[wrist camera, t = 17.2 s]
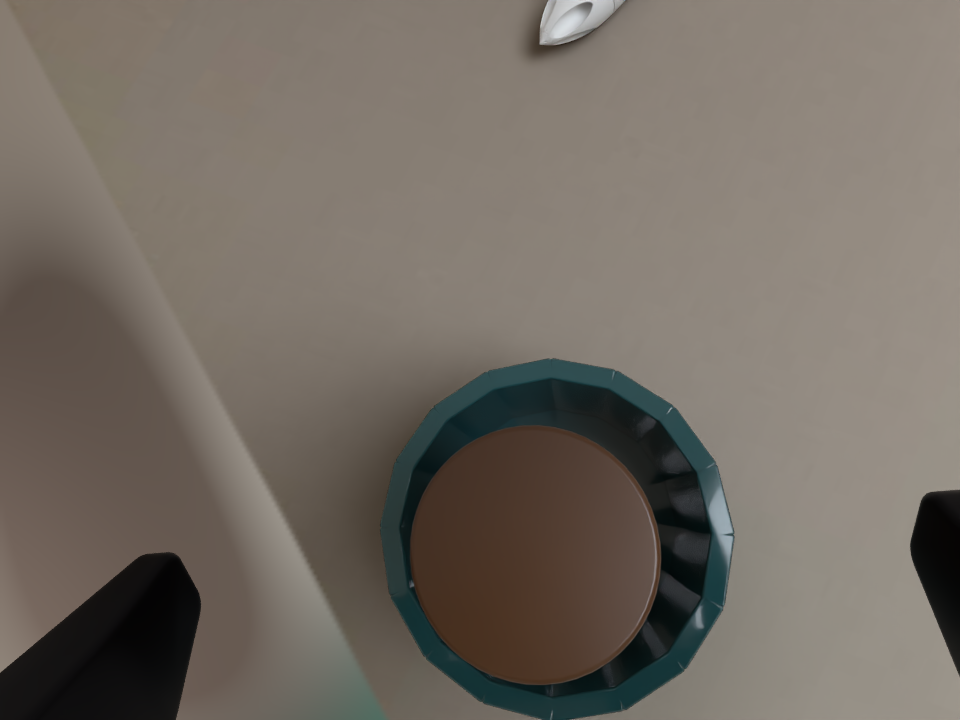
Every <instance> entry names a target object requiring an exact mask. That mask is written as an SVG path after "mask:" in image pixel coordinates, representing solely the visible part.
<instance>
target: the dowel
mask: <svg viewBox="0 0 960 720" xmlns="http://www.w3.org/2000/svg"><path fill="white" fill-rule="evenodd" d="M410 564H411V574H412V578H413V583H414V587H415V591H416V594H417V597H418V599H419V602H420V605H421V607H422V609H423V611H424V613H425V615H426V617H427V619H428V621H429V622H430V624H431V625H432V627H433V628H434V630H435V631H436V633H437V634H438V635H439V637H440V638H441V639H442V640H443V641H444V642H445V643H446V644H447V646H448V647H449V648H450V649H451V650H452V651H454V652H455V653H456V654H457V655H458V656H459V657H461V658H462V659H463V660H464V661H466V662H467V663H469V664H471V665H472V666H474V667H475V668H477V669H478V670H481V671H483V672H485V673H487V674H489V675H491V676H493V677H496V678H500V679H503V680H506V681H509V682H515V683H520V684H526V685H548V684H557V683H563V682H567V681H570V680H574V679H578V678H580V677H582V676H585V675H587V674H590V673H592V672H594V671H596V670H597V669H599V668H601V667H602V666H604V665H606V664H607V663H609V662H610V661H611V660H612V659H614V658H615V657H616V656H617V655H618V654H620V653H621V652H622V651H623V650H624V649H625V648H626V647H627V645H628V644H629V643H630V642H631V641H632V640H633V639H634V637H635V636H636V634H637V633H638V632H639V630H640V629H641V627H642V626H643V624H644V622H645V620H646V618H647V616H648V614H649V612H650V610H651V608H652V605H653V602H654V599H655V596H656V593H657V588H658V583H659V579H660V569H661V547H660V538H659V533H658V527H657V523H656V520H655V517H654V514H653V511H652V508H651V506H650V504H649V502H648V499H647V497H646V495H645V493H644V491H643V490H642V488H641V487H640V485H639V484H638V482H637V480H636V479H635V478H634V476H633V475H632V474H631V473H630V472H629V470H628V469H627V468H626V467H625V466H624V465H623V464H622V463H621V462H620V461H619V460H618V459H617V458H616V457H615V456H614V455H613V454H611V453H610V452H609V451H607V450H606V449H605V448H603V447H602V446H600V445H599V444H597V443H595V442H594V441H592V440H590V439H588V438H586V437H584V436H582V435H579V434H577V433H574V432H571V431H568V430H564V429H560V428H556V427H550V426H541V425H522V426H515V427H509V428H504V429H501V430H497V431H494V432H491V433H488V434H486V435H484V436H482V437H479V438H477V439H475V440H474V441H472V442H470V443H469V444H467V445H465V446H464V447H462V448H461V449H460V450H459V451H457V452H456V453H455V454H454V455H452V456H451V457H450V458H449V459H448V460H447V461H446V462H445V463H444V464H443V465H442V466H441V467H440V469H439V470H438V471H437V473H436V474H435V475H434V477H433V478H432V479H431V481H430V483H429V484H428V486H427V488H426V490H425V491H424V493H423V495H422V498H421V500H420V503H419V505H418V507H417V510H416V514H415V517H414V521H413V525H412V531H411V539H410Z"/></svg>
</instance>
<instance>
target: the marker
mask: <svg viewBox="0 0 960 720" xmlns="http://www.w3.org/2000/svg"><path fill="white" fill-rule="evenodd" d="M624 2H625V0H548V2H547V5H546V7H545V10H544V13H543V16H542V20H541V26H540V45H558V44H563V43H566V42H570V41H573V40H575V39H578V38H580V37H582V36H584V35H586V34H588V33H590V32H591V31H593V30H594V29H596V28H597V27H598V26H600V25H601V24H602V23H603V22H604V21H606V20H607V19H608V18H609V17H610V16H611V15H612V14H613V13H614V12H615V11H616V10H617V9H618V8H619V7H620V5H622V4H623V3H624Z"/></svg>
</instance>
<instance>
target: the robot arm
mask: <svg viewBox="0 0 960 720" xmlns="http://www.w3.org/2000/svg"><path fill="white" fill-rule="evenodd" d="M910 550H911V556H912V560H913V563H914V566H915V569H916V571H917V573H918V576H919V578H920V581H921V583H922V586H923V588H924V591H925V593H926V596H927V598H928V600H929V603H930V605H931V608H932V610H933V613H934V615H935V618H936V620H937V622H938V625H939V627H940V630H941V632H942V635H943V637H944V640H945V642H946V644H947V647H948V649H949V652H950V654H951V657H952V659H953V662H954V664H955V667H956V669H957V671H958V674H959V676H960V490H950V491H937V492H930V493H927V494H926V495H925V496H924V497H923V498H922V500H921V503H920V507H919V511H918V514H917V518H916V522H915V526H914V530H913V534H912V538H911V543H910ZM200 610H201V600H200V596H199V593H198V590H197V588H196V587H195V585H194V583H193V581H192V579H191V577H190V576H189V574H188V572H187V570H186V568H185V566H184V565H183V563H182V561H181V559H180V558H179V557H178V556H177V555H175V554H174V553H170V552H166V553H154V554H145V555H142V556H140V557H138V558H137V559H136V560H134V561H133V562H132V563H131V564H130V565H129V566H127V567H126V568H125V569H124V570H123V571H121V572H120V573H119V574H118V575H117V576H115V577H114V578H113V579H112V580H111V581H109V582H108V583H107V584H106V585H105V586H103V587H102V588H101V589H100V590H99V591H97V592H96V593H95V594H94V595H93V596H91V597H90V598H89V599H88V600H87V601H85V602H84V603H83V604H82V605H81V606H79V607H78V608H77V609H76V610H75V611H74V612H72V613H71V614H70V615H69V616H68V617H66V618H65V619H64V620H63V621H62V622H60V623H59V624H58V625H57V626H56V627H54V629H52V630H51V631H50V632H48V633H47V634H46V635H45V636H44V637H42V638H41V639H40V640H39V641H38V642H36V643H35V644H34V645H33V646H32V647H31V648H29V649H28V650H27V651H26V652H25V653H23V654H22V655H21V656H20V657H19V658H17V659H16V660H15V661H14V662H13V663H12V664H10V665H9V666H8V667H7V668H6V669H4V670H3V671H2V672H1V673H0V720H176V717H177V713H178V709H179V704H180V700H181V695H182V691H183V687H184V682H185V677H186V673H187V669H188V665H189V660H190V656H191V651H192V647H193V643H194V638H195V633H196V629H197V625H198V621H199V616H200Z"/></svg>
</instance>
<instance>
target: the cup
mask: <svg viewBox="0 0 960 720" xmlns="http://www.w3.org/2000/svg"><path fill="white" fill-rule="evenodd" d="M522 425H541V426H550V427H556V428H560V429H564V430H568V431H571V432H574V433H577V434H579V435H582V436H584V437H586V438H588V439H590V440H592V441H594V442H595V443H597V444H599V445H600V446H602V447H603V448H605V449H606V450H607V451H609V452H610V453H611V454H613V455H614V456H615V457H616V458H617V459H618V460H619V461H620V462H621V463H622V464H623V465H624V466H625V467H626V468H627V469H628V470H629V472H630V473H631V474H632V475H633V476H634V478H635V479H636V480H637V482H638V484H639V485H640V487H641V488H642V490H643V491H644V493H645V495H646V497H647V499H648V502H649V504H650V506H651V508H652V511H653V514H654V517H655V520H656V523H657V527H658V533H659V538H660V547H661V569H660V579H659V583H658V588H657V593H656V596H655V599H654V602H653V605H652V608H651V610H650V612H649V614H648V616H647V618H646V620H645V622H644V624H643V626H642V627H641V629H640V630H639V632H638V633H637V634H636V636H635V637H634V639H633V640H632V641H631V642H630V643H629V644H628V645H627V647H626V648H625V649H624V650H623V651H622V652H621V653H620V654H618V655H617V656H616V657H615V658H614V659H612V660H611V661H610V662H609V663H607V664H606V665H604V666H602V667H601V668H599V669H597V670H596V671H594V672H592V673H590V674H587V675H585V676H582V677H580V678H578V679H574V680H570V681H567V682H563V683H557V684H548V685H526V684H520V683H515V682H509V681H506V680H503V679H500V678H496V677H493V676H491V675H489V674H487V673H485V672H483V671H481V670H478V669H477V668H475V667H474V666H472V665H471V664H469V663H467V662H466V661H464V660H463V659H462V658H461V657H459V656H458V655H457V654H456V653H455V652H454V651H452V650H451V649H450V648H449V647H448V646H447V644H446V643H445V642H444V641H443V640H442V639H441V638H440V637H439V635H438V634H437V633H436V631H435V630H434V628H433V627H432V625H431V624H430V622H429V621H428V619H427V617H426V615H425V613H424V611H423V609H422V607H421V605H420V602H419V599H418V597H417V594H416V591H415V587H414V583H413V578H412V574H411V564H410V539H411V531H412V525H413V521H414V517H415V514H416V510H417V507H418V505H419V503H420V500H421V498H422V495H423V493H424V491H425V490H426V488H427V486H428V484H429V483H430V481H431V479H432V478H433V477H434V475H435V474H436V473H437V471H438V470H439V469H440V467H441V466H442V465H443V464H444V463H445V462H446V461H447V460H448V459H449V458H450V457H451V456H452V455H454V454H455V453H456V452H457V451H459V450H460V449H461V448H462V447H464V446H465V445H467V444H469V443H470V442H472V441H474V440H475V439H477V438H479V437H482V436H484V435H486V434H488V433H491V432H494V431H497V430H501V429H504V428H509V427H515V426H522ZM715 464H716V462H715V460H714V459H713V458H712V456H711V455H710V454H709V452H708V451H707V450H706V448H705V447H704V446H703V444H702V443H701V441H700V440H699V439H698V437H697V436H696V435H695V433H694V432H693V431H692V429H691V428H690V426H689V425H688V424H687V422H686V421H685V420H684V418H683V417H682V416H681V414H680V413H679V411H678V410H677V409H676V408H675V407H674V408H673V405H672V404H670V403H668V402H667V401H665V400H664V399H662V398H660V397H659V396H657V395H656V394H654V393H652V392H651V391H649V390H648V389H646V388H644V387H643V386H641V385H640V384H638V383H636V382H635V381H633V380H632V379H630V378H628V377H627V376H625V375H624V374H622V373H621V372H619V371H615V370H614V369H609V368H603V367H598V366H592V365H587V364H581V363H576V362H570V361H565V360H559V359H554V358H553V359H543V360H538V361H533V362H528V363H523V364H518V365H514V366H509V367H504V368H499V369H494V370H489V371H488V372H484V373H483V374H481V375H480V376H478V377H477V378H475V379H474V380H472V381H471V382H469V383H468V384H466V385H465V386H463V387H462V388H460V389H459V390H457V391H456V392H454V393H453V394H451V395H450V396H448V397H447V398H445V399H444V400H442V401H441V402H439V403H438V404H436V405H435V406H434V408H432V409H431V410H430V411H429V413H428V414H427V416H426V417H425V418H424V420H423V421H422V423H421V424H420V426H419V427H418V429H417V430H416V432H415V433H414V434H413V436H412V437H411V439H410V440H409V442H408V443H407V445H406V446H405V447H404V449H403V450H402V452H401V453H400V455H399V456H398V458H397V459H396V462H395V463H394V467H393V472H392V476H391V480H390V484H389V489H388V493H387V497H386V501H385V506H384V510H383V514H382V519H381V523H380V527H381V528H380V533H381V540H382V547H383V554H384V561H385V568H386V575H387V582H388V589H389V594H390V595H391V600H392V601H393V603H394V605H395V607H396V608H397V610H398V612H399V614H400V616H401V617H402V619H403V621H404V623H405V624H406V626H407V628H408V630H409V631H410V633H411V635H412V637H413V638H414V640H415V642H416V644H417V645H418V647H419V649H420V651H421V652H422V654H423V656H424V657H426V659H427V660H428V661H429V662H430V663H431V664H433V665H434V666H435V667H437V668H438V669H439V670H440V671H442V672H443V673H444V674H445V675H447V676H448V677H449V678H450V679H452V680H453V681H454V682H455V683H457V684H458V685H459V686H461V687H462V688H463V689H464V690H466V691H467V692H468V693H469V694H471V695H472V696H473V697H474V698H476V699H477V700H478V701H480V702H483V703H484V704H486V705H490V706H493V707H497V708H501V709H505V710H508V711H512V712H516V713H519V714H523V715H527V716H530V717H534V718H538V719H541V720H571V719H577V718H583V717H590V716H596V715H602V714H609V713H615V712H621V711H623V710H627V709H628V708H630V707H631V706H633V705H634V704H636V703H637V702H639V701H640V700H642V699H643V698H645V697H646V696H648V695H649V694H651V693H652V692H654V691H655V690H657V689H658V688H660V687H661V686H663V685H664V684H666V683H667V682H669V681H670V680H672V679H673V678H675V677H676V676H678V675H679V674H681V673H682V672H684V669H686V668H687V667H688V666H689V664H690V662H691V661H692V659H693V658H694V656H695V654H696V653H697V651H698V650H699V648H700V646H701V645H702V643H703V641H704V640H705V638H706V637H707V635H708V633H709V632H710V630H711V629H712V627H713V625H714V624H715V622H716V621H717V619H718V617H719V616H720V614H721V612H722V611H723V607H724V605H725V600H726V593H727V587H728V580H729V573H730V566H731V559H732V552H733V545H734V538H735V537H734V535H733V534H734V528H733V524H732V521H731V517H730V513H729V509H728V505H727V501H726V497H725V493H724V489H723V485H722V482H721V478H720V474H719V470H718V466H717V465H715Z"/></svg>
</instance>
